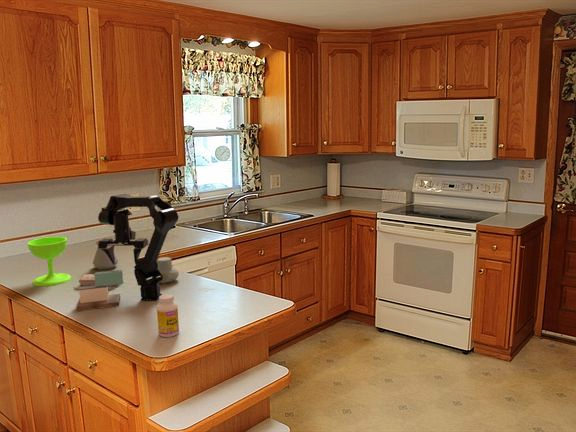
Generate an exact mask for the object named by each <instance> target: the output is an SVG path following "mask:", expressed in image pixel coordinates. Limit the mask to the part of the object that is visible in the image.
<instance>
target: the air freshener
mask: <svg viewBox="0 0 576 432" xmlns="http://www.w3.org/2000/svg"><path fill="white" fill-rule="evenodd" d="M157 264H158V270H159V271H160V273H161V274H162V275H163V279H162V281H159V284H169V283H172V282H174V281H175V280H176V279H178V277H179V271H178V269H177V268H175V267H173V263H172V258H171V257H169V256H168V257H167V256H166V257H160V258H159V257H158V259H157Z"/></svg>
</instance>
